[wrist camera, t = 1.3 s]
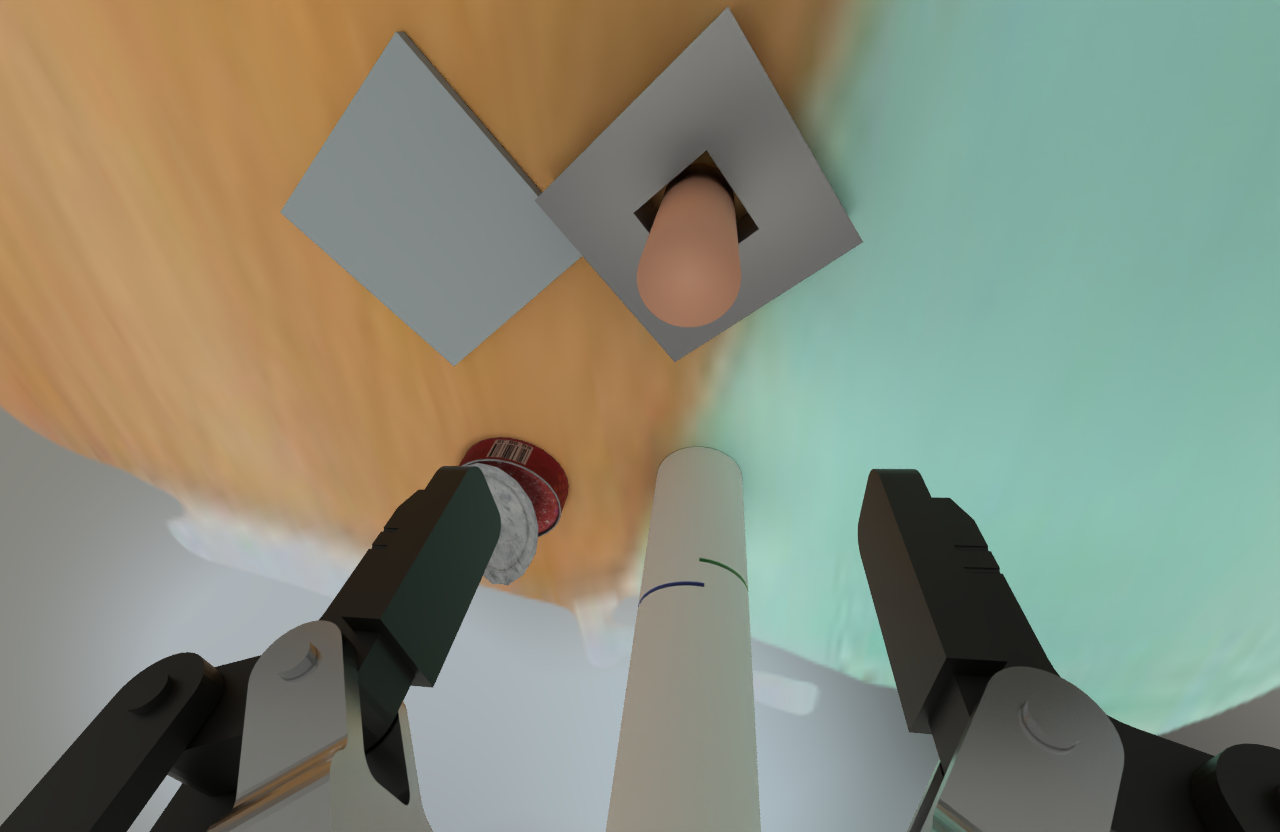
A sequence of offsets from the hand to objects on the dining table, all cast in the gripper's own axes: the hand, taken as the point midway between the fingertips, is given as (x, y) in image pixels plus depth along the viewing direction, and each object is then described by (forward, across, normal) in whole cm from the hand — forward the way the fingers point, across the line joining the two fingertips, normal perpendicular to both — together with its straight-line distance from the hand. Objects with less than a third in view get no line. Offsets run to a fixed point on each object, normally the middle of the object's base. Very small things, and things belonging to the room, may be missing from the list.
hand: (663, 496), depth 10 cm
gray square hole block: (+23, 0, 0) cm, 23 cm away
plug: (+23, 0, 0) cm, 23 cm away
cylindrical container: (+23, +1, +22) cm, 32 cm away
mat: (+23, +17, 0) cm, 28 cm away
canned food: (+23, +18, +22) cm, 37 cm away
